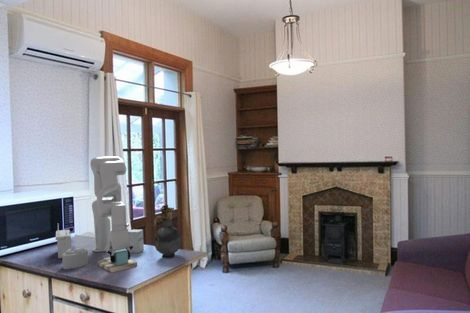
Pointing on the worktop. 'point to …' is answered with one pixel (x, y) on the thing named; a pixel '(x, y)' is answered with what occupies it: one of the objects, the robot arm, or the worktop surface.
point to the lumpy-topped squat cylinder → (75, 258)
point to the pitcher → (167, 235)
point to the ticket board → (112, 267)
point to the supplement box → (136, 240)
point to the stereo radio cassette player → (63, 241)
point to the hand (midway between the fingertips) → (120, 260)
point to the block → (121, 257)
